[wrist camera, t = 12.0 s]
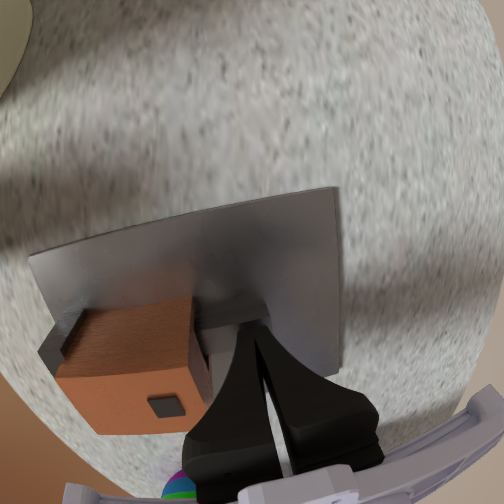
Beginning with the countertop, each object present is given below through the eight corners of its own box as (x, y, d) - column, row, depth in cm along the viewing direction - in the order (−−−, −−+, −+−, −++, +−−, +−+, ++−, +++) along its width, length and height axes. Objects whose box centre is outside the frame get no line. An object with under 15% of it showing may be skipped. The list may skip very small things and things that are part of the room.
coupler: (336, 369, 18) (359, 412, 14) (112, 407, 17) (102, 451, 13) (329, 186, 13) (372, 204, 10) (30, 254, 12) (-10, 288, 9)
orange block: (211, 356, 15) (215, 430, 11) (115, 369, 15) (97, 436, 10) (192, 296, 14) (187, 369, 9) (87, 314, 14) (52, 380, 9)
